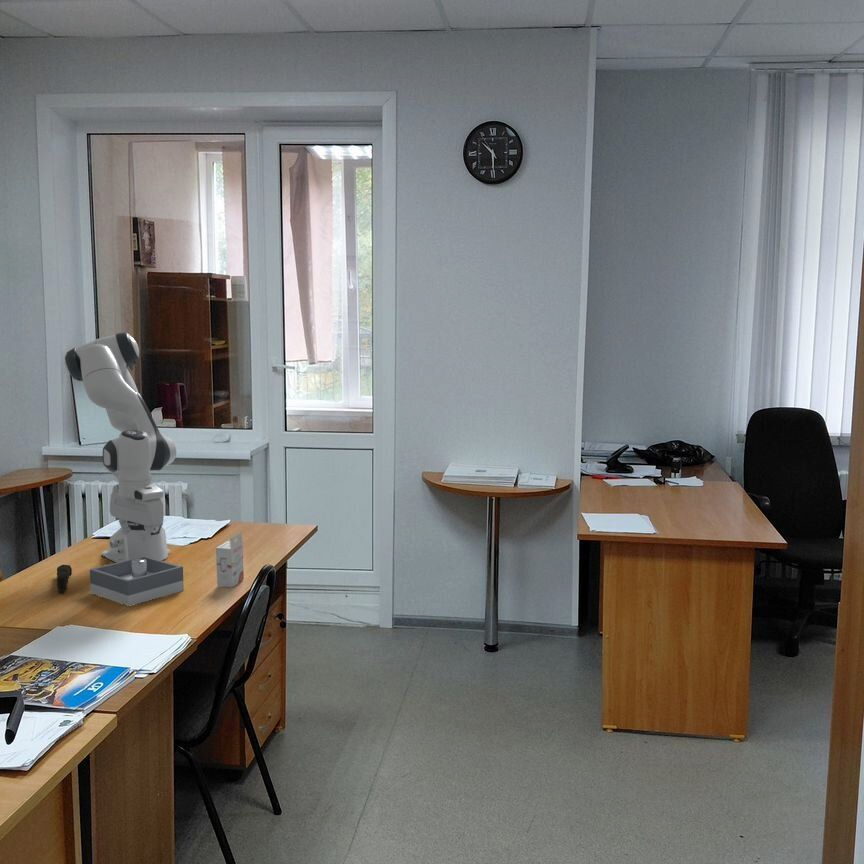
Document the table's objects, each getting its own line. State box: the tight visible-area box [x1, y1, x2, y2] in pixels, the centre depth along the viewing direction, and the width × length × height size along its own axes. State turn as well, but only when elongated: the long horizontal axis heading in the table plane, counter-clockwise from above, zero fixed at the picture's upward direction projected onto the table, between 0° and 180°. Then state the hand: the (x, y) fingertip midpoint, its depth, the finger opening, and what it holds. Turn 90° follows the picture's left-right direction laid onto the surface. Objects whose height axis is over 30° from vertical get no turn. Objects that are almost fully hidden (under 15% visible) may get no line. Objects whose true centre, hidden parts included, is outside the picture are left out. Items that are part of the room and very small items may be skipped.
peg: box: [132, 559, 147, 579], centre depth 255 cm, size 4×4×9 cm
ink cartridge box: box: [215, 531, 244, 588], centre depth 264 cm, size 9×5×15 cm, turn 168°
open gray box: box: [89, 556, 185, 607], centre depth 255 cm, size 18×18×7 cm
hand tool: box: [56, 564, 73, 595], centre depth 261 cm, size 19×4×5 cm, turn 17°
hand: (136, 536), depth 254 cm, fingers open, 8 cm apart
